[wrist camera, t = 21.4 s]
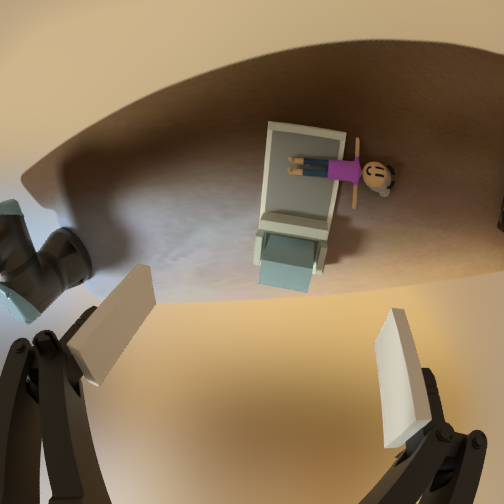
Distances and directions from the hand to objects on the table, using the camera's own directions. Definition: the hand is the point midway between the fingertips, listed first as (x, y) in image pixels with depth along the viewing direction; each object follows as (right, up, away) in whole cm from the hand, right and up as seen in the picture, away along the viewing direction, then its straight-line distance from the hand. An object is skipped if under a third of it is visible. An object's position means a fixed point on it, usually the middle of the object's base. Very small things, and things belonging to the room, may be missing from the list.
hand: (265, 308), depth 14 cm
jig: (+6, +10, +27) cm, 30 cm away
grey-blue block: (+5, +3, +30) cm, 31 cm away
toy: (+5, +15, +24) cm, 29 cm away
